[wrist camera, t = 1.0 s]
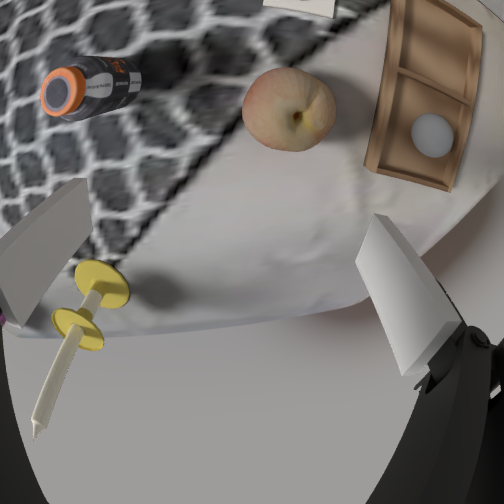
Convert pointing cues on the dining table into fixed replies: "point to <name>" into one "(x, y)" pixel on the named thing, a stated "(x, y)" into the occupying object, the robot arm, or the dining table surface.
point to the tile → (304, 6)
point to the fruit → (289, 110)
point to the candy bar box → (2, 319)
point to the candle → (79, 329)
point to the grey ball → (432, 135)
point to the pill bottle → (90, 87)
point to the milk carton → (495, 7)
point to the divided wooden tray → (425, 89)
